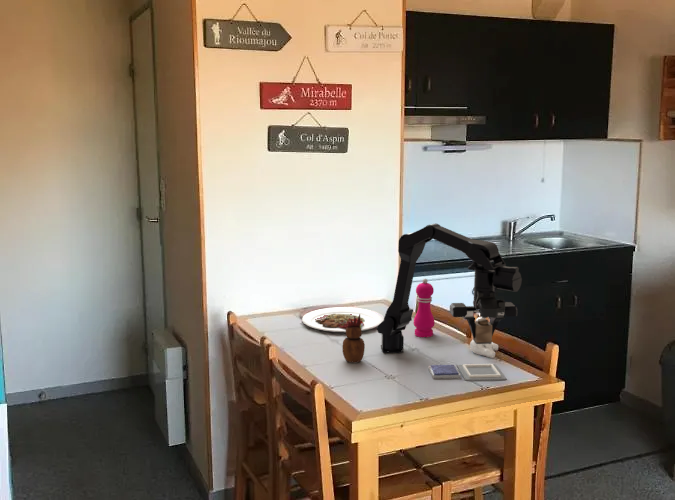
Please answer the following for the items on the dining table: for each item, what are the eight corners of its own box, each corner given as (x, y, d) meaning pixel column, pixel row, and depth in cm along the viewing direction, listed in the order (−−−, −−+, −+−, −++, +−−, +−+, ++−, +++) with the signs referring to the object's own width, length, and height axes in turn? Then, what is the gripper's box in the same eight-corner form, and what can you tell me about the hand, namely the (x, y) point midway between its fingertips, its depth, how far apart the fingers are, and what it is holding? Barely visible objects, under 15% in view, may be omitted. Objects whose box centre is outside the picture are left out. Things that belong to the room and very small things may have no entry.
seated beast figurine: (494, 358, 224) (496, 321, 222) (466, 355, 227) (468, 319, 225) (498, 349, 233) (500, 313, 230) (472, 346, 236) (473, 311, 233)
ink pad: (433, 378, 207) (433, 374, 207) (428, 368, 215) (428, 364, 215) (460, 378, 208) (460, 373, 207) (454, 368, 216) (455, 364, 215)
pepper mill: (410, 336, 246) (411, 279, 242) (416, 330, 252) (417, 275, 248) (431, 339, 243) (432, 281, 239) (436, 333, 250) (438, 277, 246)
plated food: (334, 307, 283) (334, 299, 282) (399, 320, 266) (399, 311, 265) (285, 326, 259) (285, 317, 258) (353, 341, 242) (353, 331, 241)
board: (465, 380, 206) (465, 377, 206) (456, 366, 218) (456, 362, 217) (506, 380, 206) (506, 376, 206) (495, 365, 218) (495, 362, 218)
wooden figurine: (366, 359, 224) (367, 312, 221) (361, 365, 218) (361, 317, 215) (346, 356, 226) (346, 310, 223) (340, 362, 220) (340, 315, 218)
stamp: (476, 344, 208) (477, 322, 206) (472, 339, 212) (473, 318, 211) (491, 343, 208) (492, 322, 207) (487, 338, 212) (488, 317, 211)
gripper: (458, 293, 199) (456, 347, 202) (524, 292, 199) (521, 346, 202) (450, 283, 209) (448, 335, 212) (513, 283, 210) (510, 334, 213)
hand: (482, 337), depth 210 cm, fingers closed on stamp, 4 cm apart
